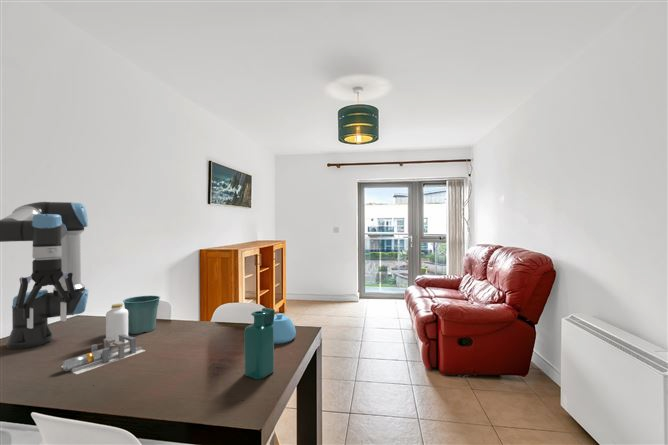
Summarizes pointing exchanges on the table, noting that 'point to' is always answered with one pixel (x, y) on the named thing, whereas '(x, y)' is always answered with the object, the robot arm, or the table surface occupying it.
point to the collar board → (115, 354)
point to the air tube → (83, 360)
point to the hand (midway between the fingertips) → (47, 324)
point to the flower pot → (141, 313)
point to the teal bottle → (259, 345)
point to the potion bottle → (116, 322)
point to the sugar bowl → (283, 329)
